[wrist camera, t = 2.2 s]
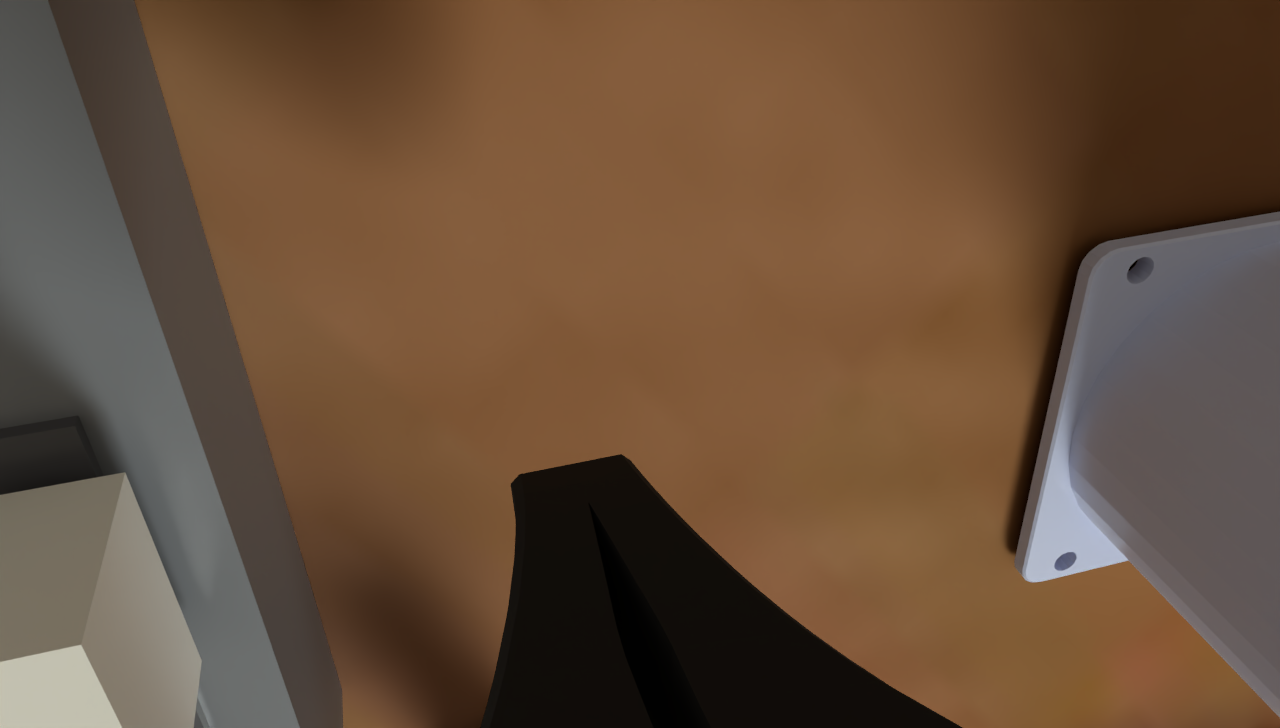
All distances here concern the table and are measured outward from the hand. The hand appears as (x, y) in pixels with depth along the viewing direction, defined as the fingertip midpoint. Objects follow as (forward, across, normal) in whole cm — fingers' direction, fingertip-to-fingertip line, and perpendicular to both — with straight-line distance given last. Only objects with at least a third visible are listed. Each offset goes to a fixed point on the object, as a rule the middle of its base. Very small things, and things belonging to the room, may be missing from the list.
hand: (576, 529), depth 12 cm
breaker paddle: (+1, +6, 0) cm, 6 cm away
